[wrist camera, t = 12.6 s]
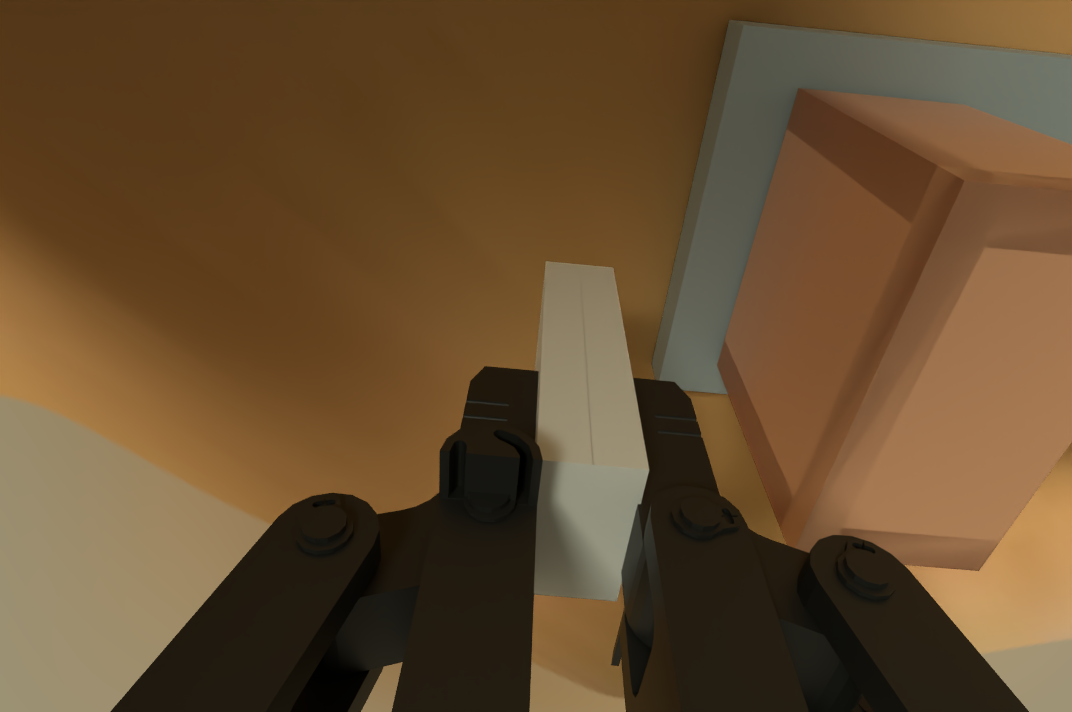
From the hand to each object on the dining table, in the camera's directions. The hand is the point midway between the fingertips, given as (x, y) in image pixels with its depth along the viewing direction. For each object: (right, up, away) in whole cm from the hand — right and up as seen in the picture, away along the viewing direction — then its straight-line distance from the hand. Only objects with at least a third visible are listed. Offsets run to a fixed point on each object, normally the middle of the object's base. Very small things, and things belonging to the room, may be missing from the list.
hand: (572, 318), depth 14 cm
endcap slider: (+8, +2, +4) cm, 9 cm away
